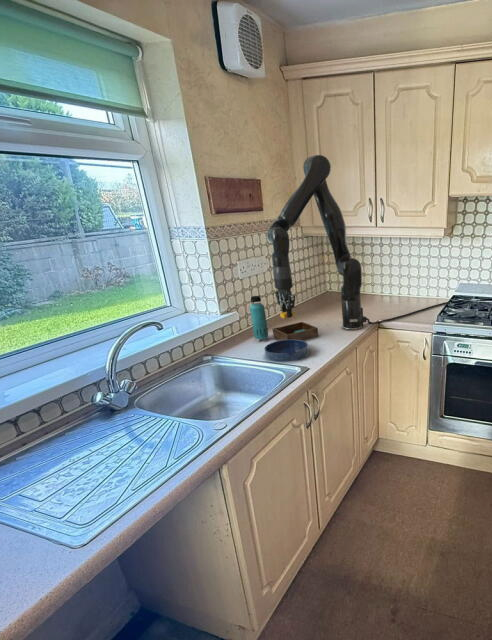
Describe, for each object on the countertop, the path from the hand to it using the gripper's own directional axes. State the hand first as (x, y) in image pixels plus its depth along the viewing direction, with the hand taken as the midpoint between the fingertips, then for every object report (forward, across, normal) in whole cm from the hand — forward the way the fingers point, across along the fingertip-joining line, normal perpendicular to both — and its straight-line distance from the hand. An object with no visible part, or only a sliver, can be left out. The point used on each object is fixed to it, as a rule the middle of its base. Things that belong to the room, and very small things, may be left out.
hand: (287, 316), depth 180 cm
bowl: (+11, -17, +11) cm, 23 cm away
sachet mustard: (0, 0, 0) cm, 0 cm away
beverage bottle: (+11, +8, +10) cm, 17 cm away
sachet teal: (+10, 0, -6) cm, 12 cm away
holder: (+11, 0, -3) cm, 11 cm away
